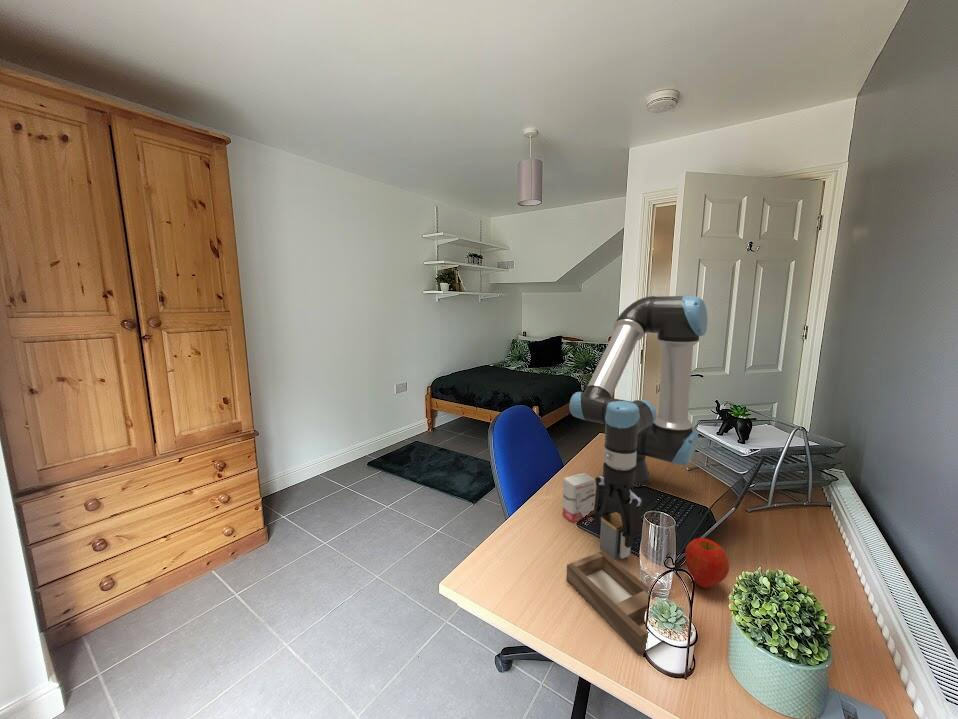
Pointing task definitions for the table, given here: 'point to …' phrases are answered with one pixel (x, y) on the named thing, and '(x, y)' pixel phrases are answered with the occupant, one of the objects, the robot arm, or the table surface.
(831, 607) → the table surface
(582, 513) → the ink box
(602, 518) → the square bit
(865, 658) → the table surface
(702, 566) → the apple
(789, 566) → the table surface
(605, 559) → the block
